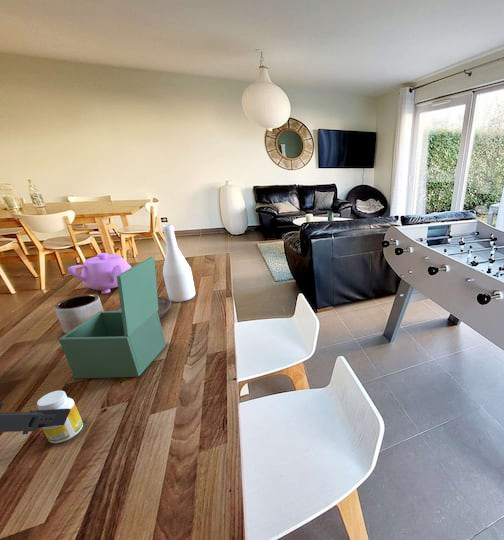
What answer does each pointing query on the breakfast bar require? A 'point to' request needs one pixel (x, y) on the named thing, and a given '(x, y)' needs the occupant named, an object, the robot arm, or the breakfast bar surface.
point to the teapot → (101, 271)
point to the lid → (137, 294)
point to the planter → (77, 310)
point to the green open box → (112, 346)
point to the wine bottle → (176, 270)
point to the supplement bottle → (72, 422)
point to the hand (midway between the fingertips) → (31, 413)
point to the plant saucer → (162, 306)
